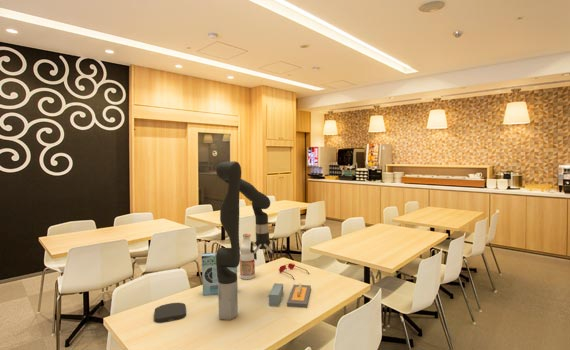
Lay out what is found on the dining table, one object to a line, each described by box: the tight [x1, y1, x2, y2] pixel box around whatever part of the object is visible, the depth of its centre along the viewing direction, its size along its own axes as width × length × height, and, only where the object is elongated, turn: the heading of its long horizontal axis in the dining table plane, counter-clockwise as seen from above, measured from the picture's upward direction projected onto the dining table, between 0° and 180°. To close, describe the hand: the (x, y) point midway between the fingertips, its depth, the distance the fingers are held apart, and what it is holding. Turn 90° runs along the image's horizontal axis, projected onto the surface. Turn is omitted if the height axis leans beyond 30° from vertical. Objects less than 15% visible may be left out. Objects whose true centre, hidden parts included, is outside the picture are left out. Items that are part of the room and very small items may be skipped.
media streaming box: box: [153, 302, 187, 324], centre depth 157 cm, size 15×15×3 cm
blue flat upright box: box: [201, 252, 239, 296], centre depth 182 cm, size 20×5×23 cm, turn 98°
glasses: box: [278, 262, 310, 281], centre depth 211 cm, size 14×16×5 cm
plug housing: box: [268, 282, 284, 307], centre depth 175 cm, size 21×5×6 cm, turn 170°
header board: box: [286, 283, 312, 309], centre depth 175 cm, size 24×10×6 cm, turn 170°
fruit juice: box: [239, 233, 256, 281], centre depth 205 cm, size 9×9×28 cm
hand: (263, 259), depth 181 cm, fingers open, 8 cm apart
